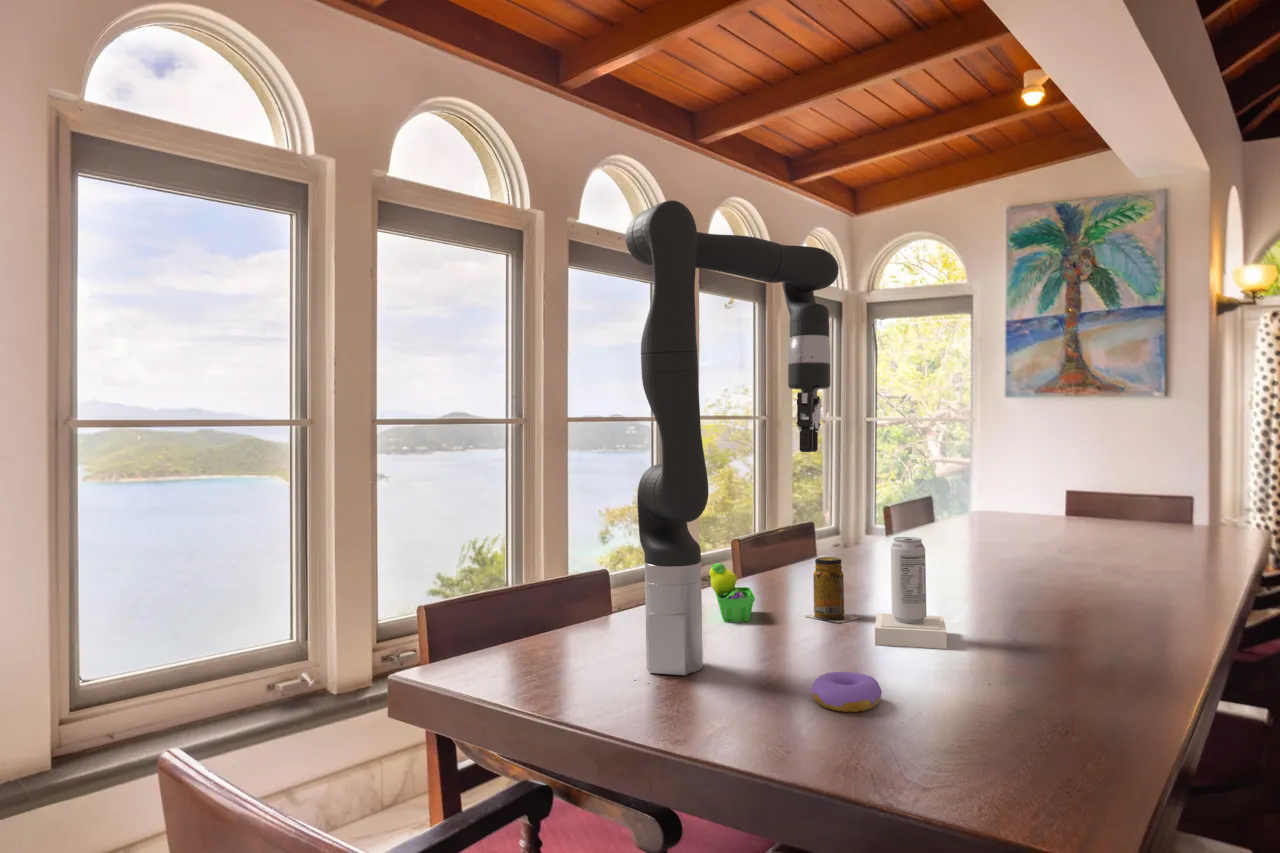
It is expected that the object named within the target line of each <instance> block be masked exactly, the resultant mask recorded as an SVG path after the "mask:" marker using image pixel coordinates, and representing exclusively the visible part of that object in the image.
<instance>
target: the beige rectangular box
mask: <svg viewBox="0 0 1280 853" xmlns="http://www.w3.org/2000/svg"><path fill="white" fill-rule="evenodd" d="M875 616H876V617H875V622H874V623H875V624H874V645H875V646H890V647H891V646H893V647H903V648H904V647H908V648H925V649H937V650H938V649H941V650H947V649H948V640H947V639H948V638H947V636H948V635H947V626H946V623H945V618H944V616H940V615H939V616H938V615H926V618H924V620H923V622H922V623H919V624H906V623H900V622H897V621H895V617H894V616H892V613H879V612H878V613H877V612H876V615H875Z"/></svg>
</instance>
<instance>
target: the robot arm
mask: <svg viewBox="0 0 1280 853" xmlns="http://www.w3.org/2000/svg"><path fill="white" fill-rule="evenodd" d="M696 224H697V223H696V221H695V218H694V216H693V214H692V212H691V211H690V209H689V208H688V207H687V206H686V205H685V204H684V203H682V202H680V201H677V200H665V201H663V202H660V203H658V204H655V205H654V206H651V207H649V208H648V209H646V210H643V211H642V212H639V213H638V214H637V215H636V216H635V217H633V219H631V220H630V222H629V224H628V225H627V227H626V230H625V235H624V237H625V239H624V240H625V245H626V248H627V250H628V252H629V254H630V255H631V256H632V257H633V258H634V259H635V260H636V261H638V262H639V263H641V264H643V265H647V266H652V270H653V273H652V274H653V291H652V292H653V293H652V299H651V303H650V306H649V310H648V313H647V317H646V320H645V323H644V328H643V331H642V336H641V337H642V338H641V342H640V362H641V363H640V367H641V369H640V370H641V380H642V386H643V390H644V394H645V397H646V400H647V402H648V405H649V408H650V409H651V412H652V414H653V416H654V419H655V421H656V424H657V427H658V430H659V435H660V439H661V440H660V441H661V458H662V460H661V461H662V463H659V464H658V463H657V464H655V465H652V466H650V467H649V468H648V469H646V470H645V471H644V473H642V476H641V478H640V480H639V482H638V485H637V486H638V488H637V496H636V497H637V504H636V505H637V517H638V518H637V519H638V534H639V536H638V537H639V541H640V542H639V543H640V546H641V548H642V550H643V554H644V589H645V591H644V596H645V600H644V601H645V651H646V654H645V655H646V658H645V659H646V668H647V669H648V673H649V674H662V675H673V676H676V675H677V676H687V675H688V674H690V673H695V672H698V671H700V670H701V669H703V666H704V664H703V662H704V661H703V658H704V657H703V656H704V655H703V654H704V653H703V651H704V650H703V610H702V609H703V608H702V606H703V605H702V604H703V603H702V600H703V599H702V598H703V596H702V554H701V552H702V551H701V545H700V544H699V543H698V541H696V540H695V539H694V537H693V536H692V534H691V533H690V530H689V527H688V523H691V522H694V521H695V520H697V519H698V518H699V517H700V516H701V515H702V514H703V512H704V511H705V509H706V507H707V504H708V500H709V480H708V472H707V466H706V458H705V452H704V445H703V438H702V437H703V436H702V427H701V426H702V425H701V407H700V395H699V394H700V393H699V360H698V359H699V358H698V356H699V355H698V343H697V326H696V325H697V322H696V321H697V320H696V296H695V295H696V294H695V291H696V290H695V289H696V286H695V283H696V270H697V269H699V270H700V269H701V270H708V271H713V272H721V273H724V274H729V275H733V276H738V277H743V278H747V279H751V280H755V281H760V282H764V283H771V284H778V283H781V285H782V290H783V295H784V299H785V303H786V306H787V310H788V312H789V313H788V314H789V341H788V342H789V343H788V348H787V350H788V352H787V357H788V358H787V367H788V368H787V386H788V388H789V389H791V390H800V392H797V395H796V408H797V410H796V418H797V421H796V426H797V429H798V431H799V451H800V452H801V453H816V452H817V451H818V450H819V449H818V448H819V445H818V444H819V443H818V442H819V435H818V434H819V430H820V428H821V408H822V399H821V397H820V395H819V396H818V390H827V389H829V388H830V387H831V344H830V312H829V309H828V307H827V306H826V305H824V304H821V303H817V302H816V298H815V294H814V292H815V291H819V290H823V289H827V288H828V287H831V285H833V284H834V283H835V281H836V280H837V278H838V275H839V268H840V267H839V264H838V262H837V259H836V258H835V257H834V255H833V254H832V253H830V252H829V251H827V250H825V249H823V248H820V247H816V246H815V247H814V246H806V245H805V246H803V245H791V244H790V245H787V244H781V243H778V242H775V241H771V240H768V239H764V238H763V239H762V238H760V237H756V236H748V235H740V234H739V235H738V234H716V233H706V232H699V231H697V230H698V229H697V225H696Z"/></svg>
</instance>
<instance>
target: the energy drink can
mask: <svg viewBox="0 0 1280 853" xmlns="http://www.w3.org/2000/svg"><path fill="white" fill-rule="evenodd" d="M926 567H927V566H926V547H925V546H924V544H923V542H922V538H921V537H915V536H897V537H893V542H892V544H891V546H890V578H891V579H890V581H891V582H890V584H891V585H890V586H891V614H892V616H894V617H895V621H897V622H900V623H906V624H919V623H922V622H923V620H924V618H926V616H927V582H926V580H927V579H926V578H927V577H926V576H927V572H926Z"/></svg>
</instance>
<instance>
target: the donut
mask: <svg viewBox="0 0 1280 853" xmlns="http://www.w3.org/2000/svg"><path fill="white" fill-rule="evenodd" d="M811 693H812V696H813V699H814V700H815V701H816V703H818V704H819V705H820V707H823V708H825V709H827V710H830V709H831V711H834V710H835V711H834V712H840V711H842V712H841V713H859V712H858V711H861V712H865V710H866V711H868V709H869V710H871V709H873V708H874V707H876V706H877V704H879V703H880V701H881V697H882V688H881V686H880V684H879V682H878V681H877V680H876V678H874V677H873V676H870V675H867V674H862V673H859V672H851V671H831V672H828V673H824V674H822V675H820V676H818V677H817V678H816V679H815V680H814V681H813V683H812V686H811Z"/></svg>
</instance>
